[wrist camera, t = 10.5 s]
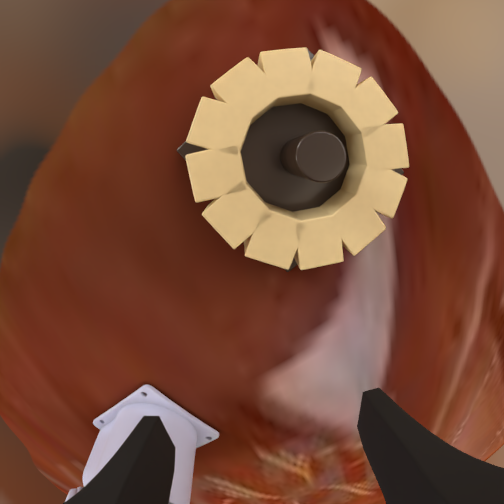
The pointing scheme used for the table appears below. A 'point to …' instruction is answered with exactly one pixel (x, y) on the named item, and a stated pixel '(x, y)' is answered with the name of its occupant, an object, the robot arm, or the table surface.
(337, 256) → the yellow gear ring
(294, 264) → the stand
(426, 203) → the table surface
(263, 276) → the table surface
